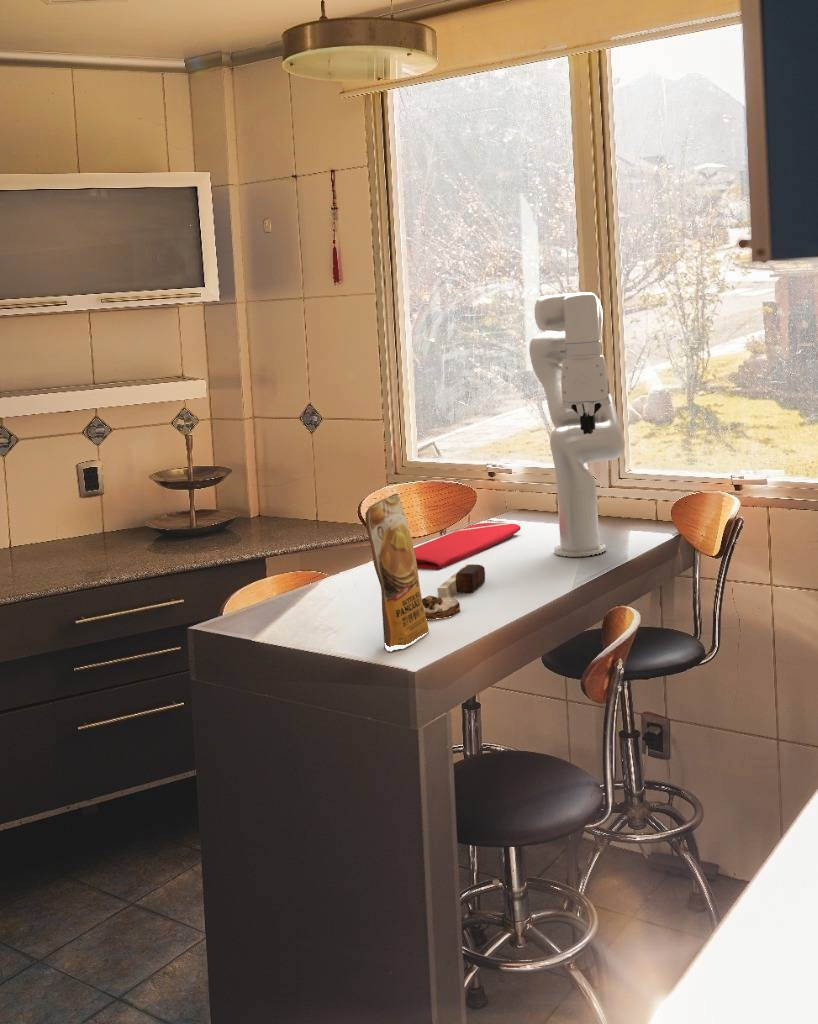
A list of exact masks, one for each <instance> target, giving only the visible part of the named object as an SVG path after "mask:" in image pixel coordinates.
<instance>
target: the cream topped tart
mask: <svg viewBox="0 0 818 1024" xmlns="http://www.w3.org/2000/svg"><path fill="white" fill-rule="evenodd" d="M422 603H423V607H424V611H425V616H426V619H427V620H428V619H436V618H442V619H445V618H444V617H448V618H450V617H449V616H452V617H454V616H455V615H457V613H458V614H459V613H461V609H460V608H461V607H460V606H461V605H460V602H459V601H458V599H456V598H454V597H452V598H451V597H438V596H434V595H428V596H426V597H423V598H422ZM436 620H437V619H436ZM428 621H429V620H428Z"/></svg>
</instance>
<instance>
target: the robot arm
mask: <svg viewBox="0 0 818 1024" xmlns="http://www.w3.org/2000/svg"><path fill="white" fill-rule="evenodd" d="M603 318H604V317H603V307H602V305H601V301H600V298H598V296H597V295H596V294H595V293H593V292H590V291H589V292H574V293H572V292H571V293H561V294H560V293H559V294H553V295H552V294H551V295H544V296H543V295H542V296H540V297H538V298H537V300H536V301H535V304H534V319H535V323H536V325H537V328H538V329H539V331H544V332H540V333H539V334H536V335H535V336H533V338H531V340H530V342H529V348H528V349H529V351H528V352H529V357H530V362H531V363H530V364H531V365H532V369H533V371H534V374H535V376H536V378H537V380H538V381H539V382H540V384H541V386H542V388H543V389H544V391H545V392H544V393H545V396H546V397H545V398H546V402H547V406H548V412H549V416H550V420H551V422H552V425H553V426H554V427H555V429H554V430H553V431H552V432H551V433H550V437H549V446H550V451H551V456H552V459H553V460H552V461H553V464H554V465H553V466H554V473H555V481H556V482H555V483H556V497H557V498H556V499H557V510H558V529H559V540H560V541H559V543H560V545H557V546H556V547H554V554H555V555H557V556H560V557H566V556H567V557H569V558H573V557H574V558H576V557H577V558H578V557H579V558H580V557H581V558H583V557H590V555H592V556H595V554H597V555H600V554H603V553H605V552H606V551H605V550H607V545H606V544H604V543H602V542H600V531H599V516H598V515H599V514H598V501H597V500H598V496H597V483H596V482H597V481H596V479H595V476H594V475H593V474H592V473H591V472H590V471H589V469H587V468H586V466H585V465H584V464H589V463H594V462H595V463H596V462H597V463H598V462H606V461H612V460H617V459H619V458H620V457H621V456H622V454H623V452H624V437H623V432H622V428H621V426H620V425H621V424H620V421H619V416H618V412H617V409H616V405H615V401H614V399H613V397H612V395H611V394H610V382H609V374H608V367H607V362H606V359H605V356H604V355H602V354H601V353H602V351H601V350H602V349H601V339H602V330H603ZM604 551H605V552H604ZM602 552H603V553H602ZM599 553H600V554H599ZM582 556H583V557H582Z"/></svg>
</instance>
